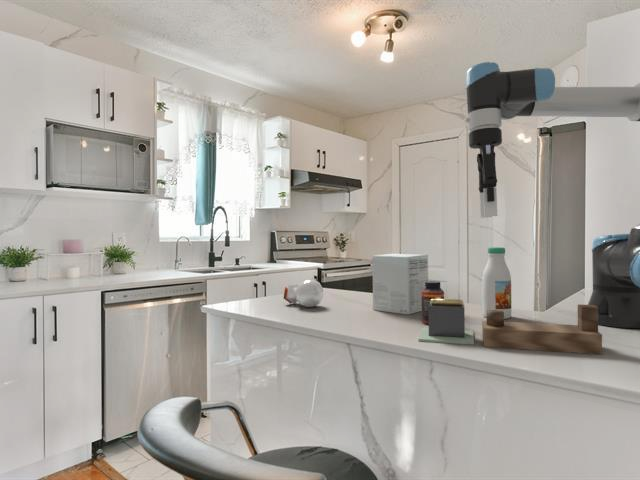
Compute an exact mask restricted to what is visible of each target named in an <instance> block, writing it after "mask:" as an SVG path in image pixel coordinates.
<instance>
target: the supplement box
mask: <svg viewBox="0 0 640 480" xmlns="http://www.w3.org/2000/svg"><path fill="white" fill-rule="evenodd" d="M371 257H372V263H371V264H372V310H373V311H377V312H385V313H394V314H399V315H400V314H402V315H412V314H414V313H418V312H419V313H420V312H422V290H423V289H425V288H426V287H425V282H426V281H429V254H416V253H415V254H413V253H412V254H409V253H386V254H375V255H372V256H371Z"/></svg>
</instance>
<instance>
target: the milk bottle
mask: <svg viewBox="0 0 640 480" xmlns="http://www.w3.org/2000/svg"><path fill="white" fill-rule="evenodd" d="M487 253H488V254H487V255H488V260H487V263H486V265H485V268H484V269H483V272H482V280H481V281H482V285H481V290H482V291H481V293H482V296H481V297H482V298H481V299H482V302H481V303H482V304H481V305H482V307H481V308H482V311H481V312H482V316H483V317H485V318H487V310H500V311H503V312H504V320H505V319H506V320H507V319H510V318H511V317H512V277H511V276H512V275H511V271H510V268H509V266H508V265H507V262H506V259H505V256H506V248H505V247H500V246H493V247H492V246H491V247H488V248H487Z"/></svg>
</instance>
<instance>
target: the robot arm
mask: <svg viewBox="0 0 640 480" xmlns="http://www.w3.org/2000/svg"><path fill="white" fill-rule="evenodd" d="M465 91H466V103H467V117H466V118H465V123H468V124H467V125H468V131H469V133H468V147H469V148H470V149H473V150H474V149H475V150H477V149H479V153H477V155H476V163H477V170H478V192H479V208H480V209H479V210H480V218H481V219H482V218H483V219H484V218H492V217H498V198H497V182H498V179H497V170H496V152H495V147H498V146H500V145H502V143H503V136H502V135H503V134H502V129H501V127H502V125H503V124H502V120H503V121H505V120H511V119H513V118H515V117H563V118H564V117H571V118H572V117H574V118H575V117H576V118H577V117H581V118H589V117H592V118H627V119H628V120H629V121H630V122H640V82H638V83H636V84H635V85H634V86H556V76H555V73H554V70H553V69H551V68H550V67H544V68H543V67H540V68H538V67H535V68H529V69H520V70H511V71H501V70H500V68H499V64H498V63H496V62H490V61H486V62H485V61H484V62H480V63H477V64H474V65H473V66H471V67H470V68H469V69H468V70H467V72H466V87H465ZM591 253H592V293H591V296H590V298H589V300H588V303H587V305H595V306H596V307H598V325H599V326H600V325H601V326H607V327H613V328H621V329H623V328H624V329H640V223H638V224H636V225H634V226H632V227H631V228H630V232H629V233H619V234H608V235H607V234H606V235H600V236H597V237H595V238H594V239H593V242H592V248H591Z"/></svg>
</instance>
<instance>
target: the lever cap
mask: <svg viewBox="0 0 640 480" xmlns="http://www.w3.org/2000/svg"><path fill="white" fill-rule="evenodd" d="M428 310H429V324H428V328H429V336H440V337H456V338H465V330H466V329H465V324H466V323H465V315H466V314H465V312H466V311H465V303H464V301H463V300H462V299H459V298H458V299H456V298H453V299H452V298H444V299H431V300H430V303H429V306H428Z"/></svg>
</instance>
